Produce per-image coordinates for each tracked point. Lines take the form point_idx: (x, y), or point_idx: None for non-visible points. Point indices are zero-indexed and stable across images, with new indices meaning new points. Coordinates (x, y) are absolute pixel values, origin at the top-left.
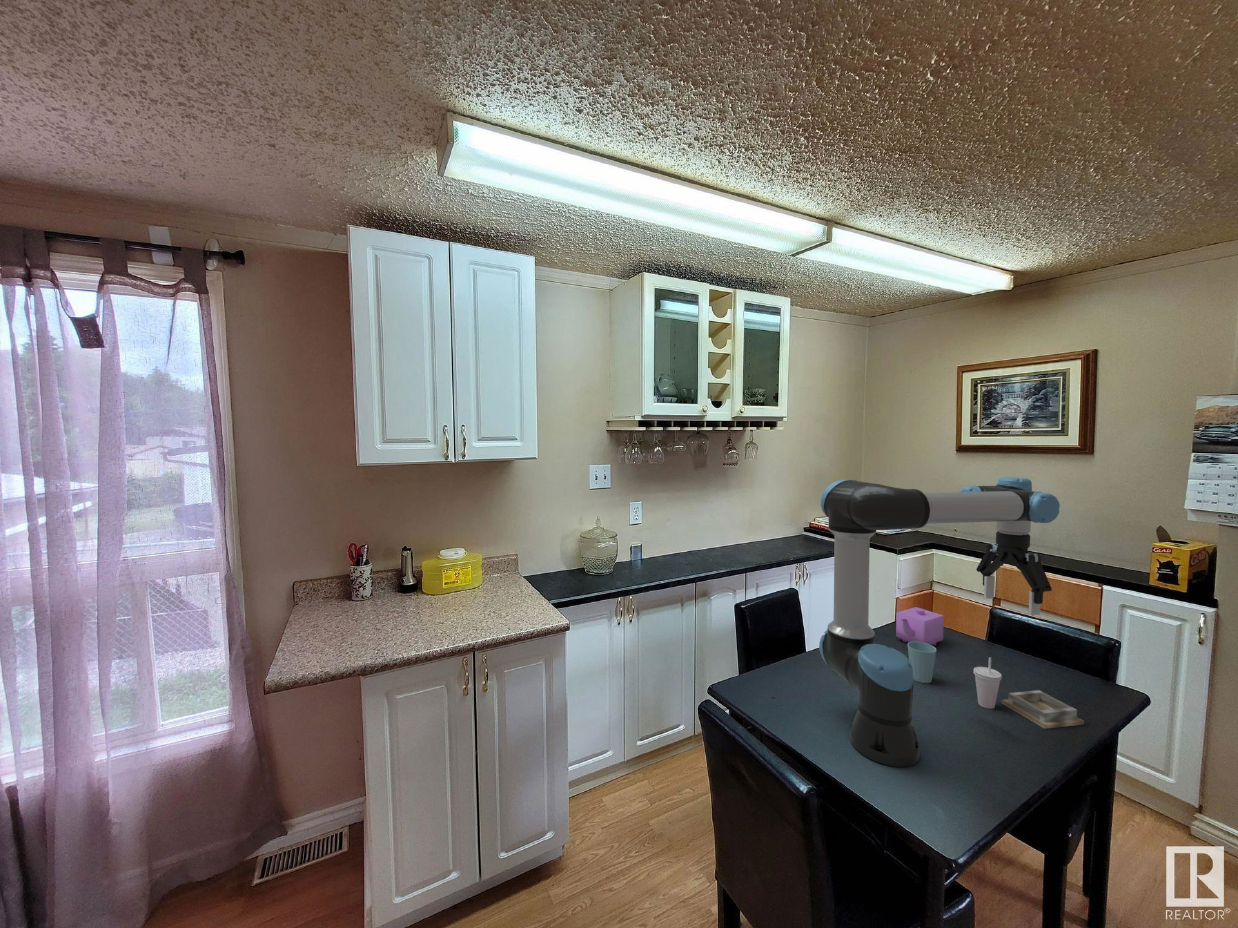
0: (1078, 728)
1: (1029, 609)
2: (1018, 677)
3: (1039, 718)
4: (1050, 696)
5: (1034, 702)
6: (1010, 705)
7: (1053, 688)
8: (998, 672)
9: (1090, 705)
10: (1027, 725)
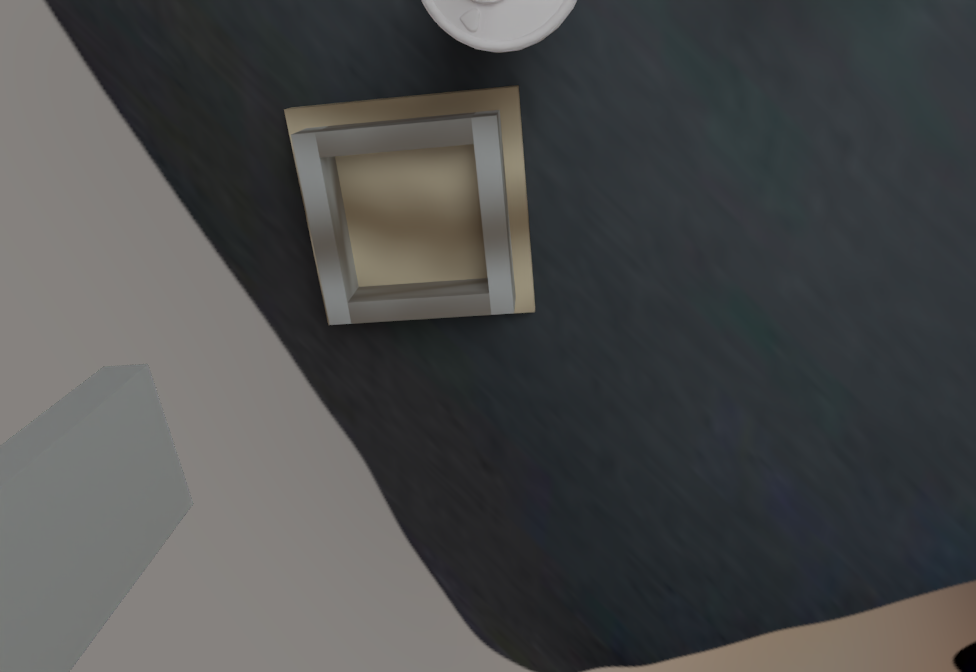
0: (301, 267)
1: (80, 406)
2: (743, 396)
3: (327, 125)
4: (450, 312)
5: (483, 243)
6: (465, 91)
7: (619, 457)
8: (484, 41)
9: (473, 473)
10: (314, 42)
